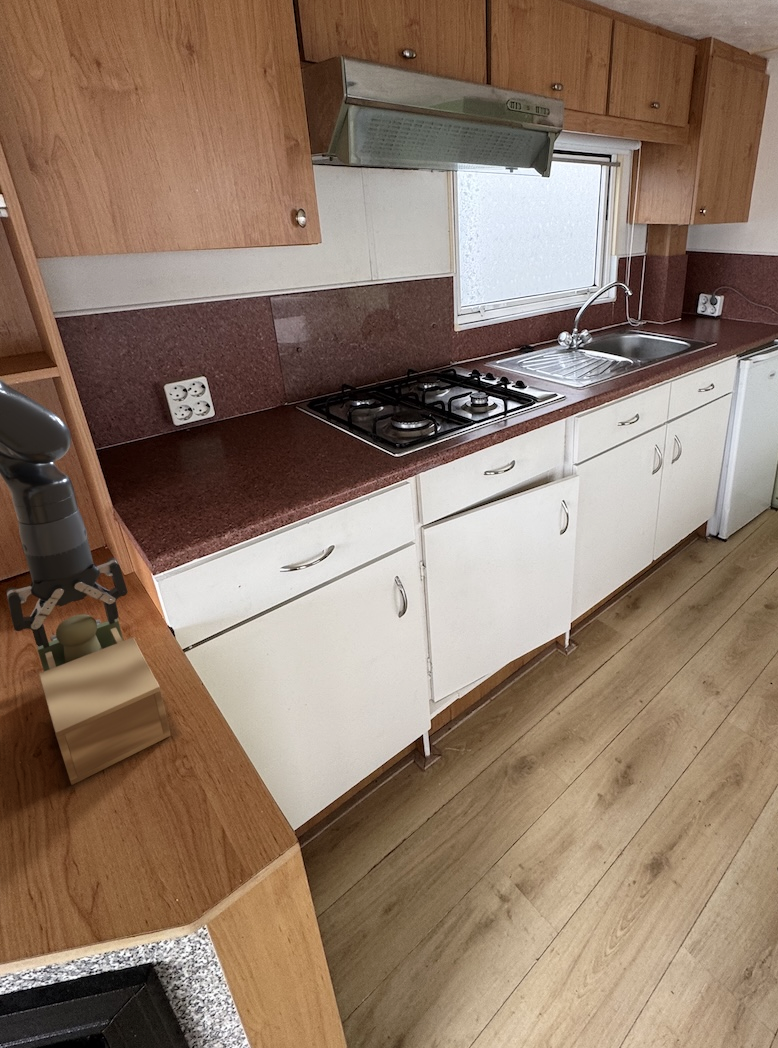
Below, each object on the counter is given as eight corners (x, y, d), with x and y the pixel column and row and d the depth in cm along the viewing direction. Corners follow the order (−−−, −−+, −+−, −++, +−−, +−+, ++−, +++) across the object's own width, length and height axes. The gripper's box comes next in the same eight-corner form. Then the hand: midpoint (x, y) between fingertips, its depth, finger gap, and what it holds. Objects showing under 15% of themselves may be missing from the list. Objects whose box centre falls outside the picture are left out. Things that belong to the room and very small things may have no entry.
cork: (116, 677, 93) (101, 620, 89) (71, 697, 89) (54, 638, 85) (106, 659, 97) (92, 603, 93) (63, 677, 93) (46, 620, 89)
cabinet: (53, 721, 87) (38, 673, 84) (144, 682, 95) (133, 636, 92) (71, 785, 77) (55, 733, 74) (170, 735, 85) (159, 686, 82)
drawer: (42, 665, 97) (31, 629, 95) (117, 637, 104) (109, 602, 102) (62, 733, 84) (50, 693, 82) (146, 695, 91) (137, 657, 89)
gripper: (106, 518, 92) (125, 604, 98) (-10, 547, 83) (18, 641, 88) (117, 535, 87) (137, 625, 93) (-5, 568, 78) (25, 666, 83)
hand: (79, 633), depth 90 cm, fingers open, 8 cm apart
